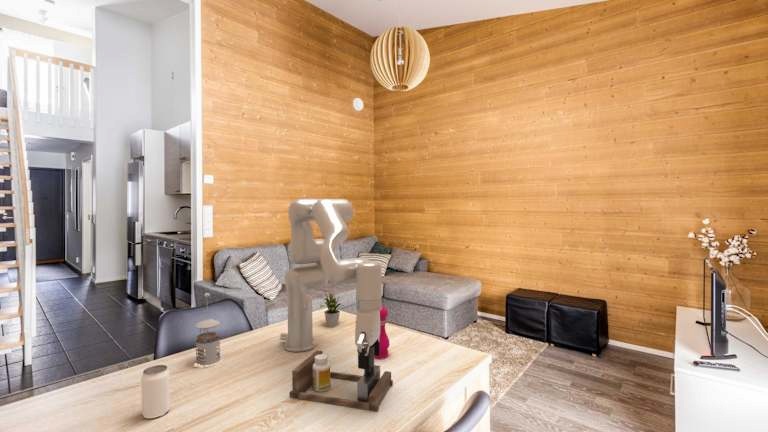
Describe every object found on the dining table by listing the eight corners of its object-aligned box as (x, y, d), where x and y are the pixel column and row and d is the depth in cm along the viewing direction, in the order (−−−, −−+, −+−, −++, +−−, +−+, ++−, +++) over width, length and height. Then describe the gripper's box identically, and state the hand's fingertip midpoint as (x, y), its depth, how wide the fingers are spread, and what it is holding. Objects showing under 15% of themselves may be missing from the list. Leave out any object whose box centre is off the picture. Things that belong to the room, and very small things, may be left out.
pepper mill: (390, 351, 142) (390, 299, 141) (388, 359, 134) (388, 304, 134) (371, 351, 142) (371, 299, 142) (368, 359, 135) (368, 304, 134)
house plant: (307, 325, 173) (307, 290, 172) (330, 318, 184) (330, 285, 183) (328, 332, 164) (328, 295, 163) (350, 324, 174) (350, 289, 174)
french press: (197, 371, 126) (195, 297, 125) (188, 360, 135) (186, 291, 134) (227, 362, 133) (225, 293, 132) (216, 352, 142) (215, 287, 141)
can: (150, 407, 104) (149, 364, 104) (174, 405, 105) (173, 363, 104) (137, 420, 98) (135, 375, 97) (162, 419, 98) (161, 374, 98)
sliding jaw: (357, 403, 105) (357, 354, 104) (371, 383, 116) (370, 339, 116) (367, 405, 104) (367, 355, 103) (380, 385, 115) (380, 340, 115)
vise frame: (289, 397, 109) (289, 370, 109) (314, 373, 124) (314, 350, 124) (377, 411, 101) (377, 382, 101) (392, 384, 116) (392, 359, 116)
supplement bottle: (333, 385, 116) (333, 354, 116) (325, 393, 111) (325, 361, 111) (318, 382, 118) (317, 352, 118) (309, 390, 113) (309, 358, 112)
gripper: (366, 295, 118) (367, 349, 119) (345, 311, 102) (346, 372, 102) (389, 297, 116) (389, 351, 117) (371, 313, 100) (372, 376, 100)
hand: (369, 361), depth 110 cm, fingers open, 9 cm apart
